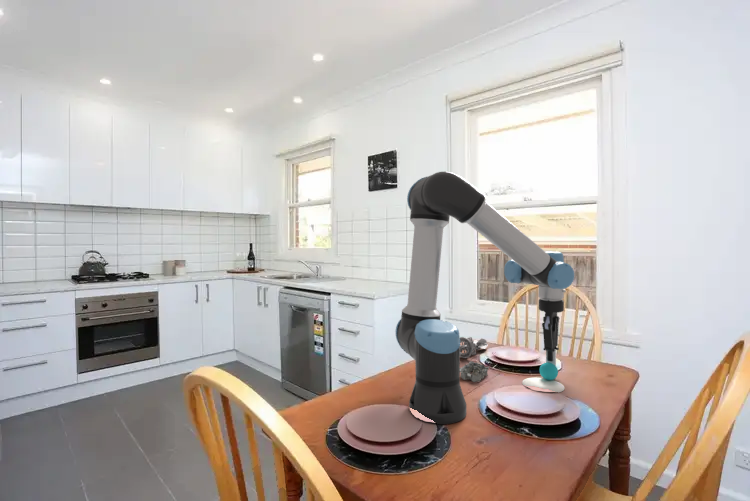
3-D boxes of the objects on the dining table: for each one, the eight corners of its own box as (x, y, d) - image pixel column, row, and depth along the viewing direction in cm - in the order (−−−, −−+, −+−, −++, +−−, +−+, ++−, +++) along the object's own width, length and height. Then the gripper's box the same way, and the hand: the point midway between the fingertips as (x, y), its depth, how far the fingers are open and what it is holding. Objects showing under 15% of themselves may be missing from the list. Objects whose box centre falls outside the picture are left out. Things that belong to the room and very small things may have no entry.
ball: (556, 385, 122) (554, 375, 120) (538, 381, 126) (536, 370, 123) (561, 371, 125) (558, 361, 123) (543, 367, 129) (540, 357, 126)
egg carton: (477, 384, 122) (477, 372, 122) (456, 379, 127) (456, 367, 126) (491, 374, 130) (491, 363, 130) (471, 370, 134) (471, 358, 134)
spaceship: (424, 343, 138) (441, 339, 133) (475, 335, 163) (491, 331, 158) (429, 366, 136) (447, 362, 131) (480, 354, 161) (497, 351, 156)
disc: (559, 396, 111) (559, 395, 111) (517, 386, 119) (517, 386, 119) (568, 383, 121) (568, 383, 121) (528, 375, 128) (528, 374, 128)
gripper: (558, 303, 118) (558, 378, 120) (567, 296, 129) (567, 366, 130) (533, 300, 123) (533, 373, 124) (544, 295, 133) (544, 362, 134)
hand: (551, 369), depth 127 cm, fingers closed
